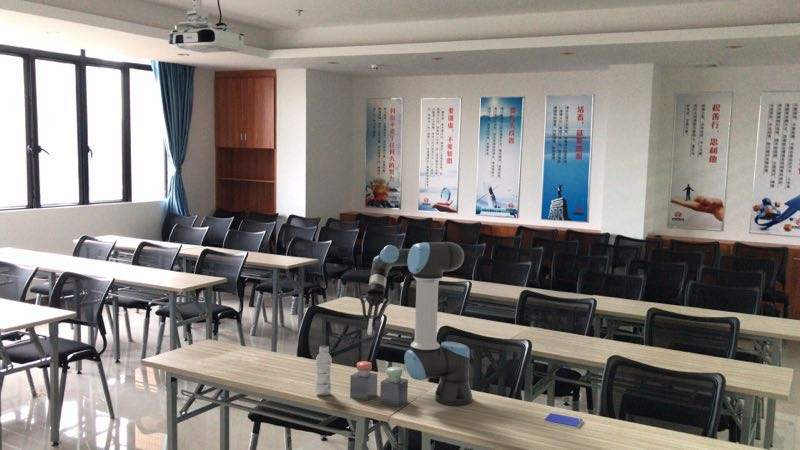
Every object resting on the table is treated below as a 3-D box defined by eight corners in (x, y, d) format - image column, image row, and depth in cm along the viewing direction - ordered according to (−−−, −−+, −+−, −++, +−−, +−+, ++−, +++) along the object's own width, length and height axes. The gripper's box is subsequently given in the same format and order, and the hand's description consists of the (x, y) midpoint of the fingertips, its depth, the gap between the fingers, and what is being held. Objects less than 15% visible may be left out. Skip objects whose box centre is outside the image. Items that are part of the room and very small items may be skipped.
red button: (373, 385, 281) (374, 362, 281) (366, 390, 276) (366, 366, 275) (361, 383, 284) (361, 360, 283) (353, 387, 279) (354, 364, 278)
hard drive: (582, 418, 259) (550, 412, 265) (577, 425, 252) (544, 419, 258) (582, 422, 260) (550, 416, 265) (577, 429, 252) (544, 423, 258)
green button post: (407, 401, 276) (407, 379, 275) (398, 407, 269) (398, 385, 268) (389, 397, 279) (390, 376, 279) (380, 403, 272) (380, 381, 272)
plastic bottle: (328, 398, 277) (329, 349, 276) (312, 396, 279) (313, 348, 277) (333, 392, 284) (334, 345, 282) (317, 391, 285) (318, 344, 283)
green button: (404, 392, 275) (404, 368, 274) (397, 396, 270) (397, 372, 269) (391, 389, 278) (391, 366, 277) (383, 393, 272) (384, 369, 272)
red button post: (376, 395, 282) (377, 373, 281) (367, 401, 275) (367, 379, 274) (360, 391, 286) (360, 370, 285) (350, 397, 279) (350, 375, 278)
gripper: (392, 292, 307) (385, 338, 292) (363, 291, 308) (355, 336, 293) (390, 283, 301) (383, 329, 286) (361, 281, 303) (352, 327, 288)
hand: (369, 333), depth 290 cm, fingers closed
